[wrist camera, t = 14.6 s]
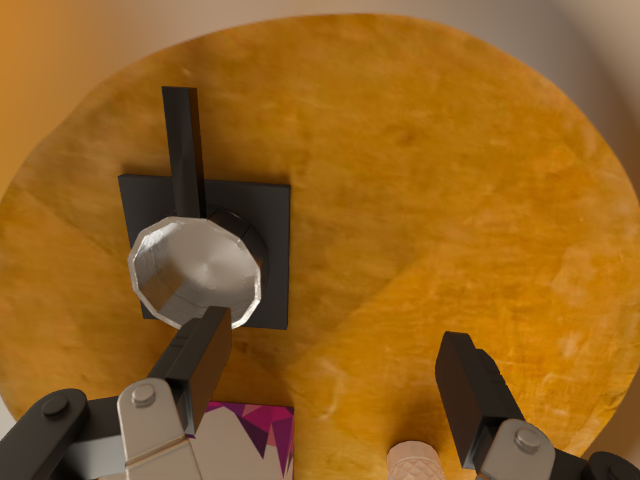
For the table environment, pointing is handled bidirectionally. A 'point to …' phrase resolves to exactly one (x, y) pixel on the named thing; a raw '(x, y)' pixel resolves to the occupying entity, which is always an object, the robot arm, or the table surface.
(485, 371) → the robot arm
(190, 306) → the steel pan
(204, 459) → the decorative box
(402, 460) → the white cup
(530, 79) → the table surface
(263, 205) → the trivet
